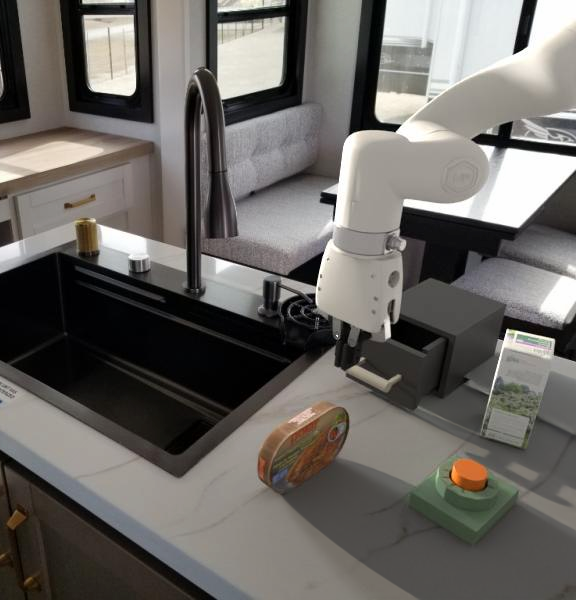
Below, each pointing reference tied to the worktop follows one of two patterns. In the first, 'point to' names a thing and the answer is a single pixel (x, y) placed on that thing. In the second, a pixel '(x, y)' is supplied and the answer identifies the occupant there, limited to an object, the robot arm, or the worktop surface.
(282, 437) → the tin
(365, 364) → the dark grey drawer
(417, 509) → the green button base
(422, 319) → the grey drawer box
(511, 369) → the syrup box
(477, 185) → the robot arm
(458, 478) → the button
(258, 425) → the worktop surface
